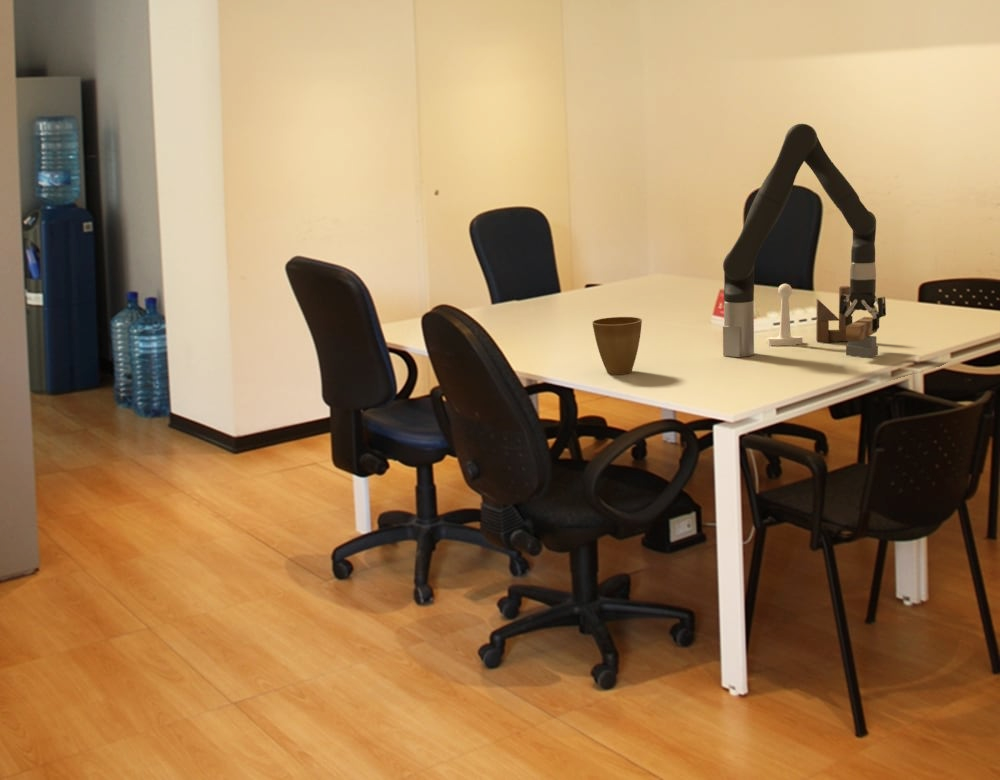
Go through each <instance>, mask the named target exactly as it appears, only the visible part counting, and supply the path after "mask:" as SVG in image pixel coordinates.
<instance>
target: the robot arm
mask: <svg viewBox="0 0 1000 780" xmlns="http://www.w3.org/2000/svg"><path fill="white" fill-rule="evenodd" d="M804 163H805V164H806V165H807V166H808V167H809V169H810V170H811V171H812V172H813V174H814V175H815V178H817V180H818V182H819V183H820V185H821V186H822V189H823V190H824V191H825V193H826V195H827V196H828V197H829V199H830V200H831V201H832V203H833V204H834V205H835V207H836V208H837V209H838V210H839V212H840V213H841V214H842V216H843V218H844V219H845V221H846V222H847V224H848V226H849V227H850V228H851V230H852V245H851V251H850V252H851V255H850V258H851V259H850V260H851V261H850V270H849V272H850V273H849V287H850V296H849V295H847V294H844V295H841V297H840V311H839V310H838V313H839V312H840V314H843V315H845V325H846V326H848V325H850V324H852V323H853V314H854V313H855V311H860V310H861V311H864V312H865V311H867V312H868V313H869V314H870V316H871V317H873V318H874V319H872V331H877V332H878V330H879V328H880V319H881V318H882V317H886V315H887V309H886V307H887V306H886V297H885V296H880V297H877V296H876V290H877V289H876V287H877V286H876V283H877V281H876V280H877V279H876V278H877V267H876V245H875V244H876V243H875V242H876V231H877V219H876V216H875V215H874V213H873V212H871V211H870V210H868V209H867V207H865V205H864V203H863V201H861V199H860V197H859V195H858V193H857V191H856V190H855V189H854V187H853V186H852V185H851V183H850V182H849V181H848V180H847V179H846V177H845V176H844V174H843V173H842V172H841V171H840V170H839V168H838V167H837V166H836V165H835V163H833V161H832V160H831V158H830V157H829V155H828V154H827V152H826V151H825V149H824V148H823V145H822V143H821V141H820V139H819V137H818V134H817V131H816V130H815V129H814V127H812V126H811V125H810V124H805V123H798V124H795V125H792V126H791V127H790V128H789V129H788V130H787V131H786V134H785V137H784V140H783V142H782V146H781V149H780V151H779V154H778V157H777V158H776V161H775V163H774V165H773V166H772V168H771V169H770V171H769V173H768V174H767V176H765V179H764V181H763V182H762V184H761V186H760V188H759V189H758V191H757V193H756V195H755V197H754V199H753V200H752V201H753V202H752V204H751V205H750V207H749V211H748V212H747V215H746V219H745V221H744V223H743V227H742V229H741V232H740V234H739V236H738V238H737V239H736V241H735V243H734V245H733V246H732V248H731V250H730V251H729V253H727V254H726V256H725V257H724V259H723V263H722V269H723V273H724V274H723V275H724V276H723V277H724V278H723V280H724V281H723V283H724V288H723V320H724V321H723V326H722V355H723V357H733V358H742V357H751V356H753V355H755V310H754V309H755V262H756V260H757V257H758V255H759V252H760V249H761V248H762V245H763V244H764V242H765V240H766V239H767V237H768V235H769V234H770V233H771V231H772V230H773V228H774V226H775V225H776V223H777V221H778V220H779V218H780V216H781V214H782V212H783V211H784V209H785V206H786V204H787V203H788V200H789V197H790V195H791V193H792V190H793V186H794V183H795V181H796V177H797V175H798V173H799V171H800V169H801V167H802V165H803V164H804ZM849 300H850V307H849V308H848V310H847V302H848V301H849ZM875 303H876V304H877V306H876V304H875Z"/></svg>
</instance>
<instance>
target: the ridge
mask: <svg viewBox="0 0 1000 780" xmlns="http://www.w3.org/2000/svg"><path fill="white" fill-rule="evenodd" d="M845 355H851V356H850V357H856V356H859V357H858V358H865V357H867V359H871V358H874V357H877V356H878V355H879V345H877V336H874V335H870V336H868V337H867V338H865V339H863V340H861V341H859V342H856V341H848V342H847V345H845ZM876 355H877V356H876ZM873 356H874V357H873Z"/></svg>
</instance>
